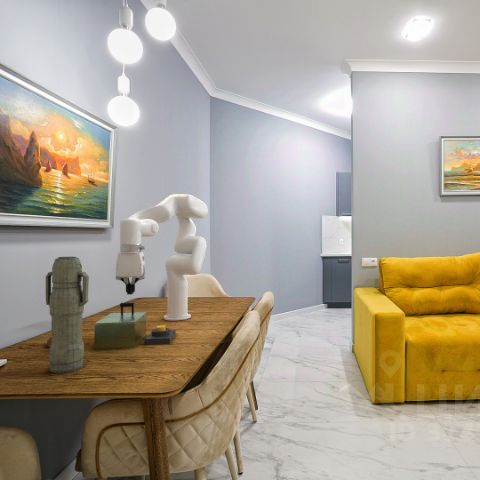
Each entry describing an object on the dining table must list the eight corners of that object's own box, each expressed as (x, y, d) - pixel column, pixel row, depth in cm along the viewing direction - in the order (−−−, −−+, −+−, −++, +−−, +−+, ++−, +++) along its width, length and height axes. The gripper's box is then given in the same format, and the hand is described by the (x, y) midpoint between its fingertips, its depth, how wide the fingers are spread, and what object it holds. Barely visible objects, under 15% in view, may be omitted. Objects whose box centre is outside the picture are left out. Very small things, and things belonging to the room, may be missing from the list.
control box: (152, 335, 146) (152, 326, 146) (175, 334, 148) (175, 325, 148) (144, 344, 134) (144, 334, 134) (169, 343, 136) (169, 333, 136)
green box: (110, 336, 143) (110, 315, 143) (146, 335, 146) (146, 314, 146) (94, 349, 128) (94, 325, 128) (134, 347, 131) (134, 324, 131)
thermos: (82, 371, 108) (82, 258, 107) (37, 374, 105) (38, 258, 105) (93, 361, 117) (94, 256, 116) (53, 363, 114) (53, 256, 113)
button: (157, 329, 142) (157, 325, 142) (166, 329, 143) (166, 325, 143) (155, 332, 139) (155, 327, 139) (164, 331, 140) (164, 327, 140)
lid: (111, 314, 144) (111, 301, 144) (146, 313, 147) (146, 301, 147) (94, 325, 128) (94, 310, 128) (134, 323, 131) (135, 309, 131)
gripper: (152, 248, 148) (152, 292, 148) (113, 248, 144) (113, 292, 145) (148, 249, 140) (147, 295, 141) (106, 249, 137) (106, 296, 138)
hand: (130, 293), depth 143 cm, fingers closed
